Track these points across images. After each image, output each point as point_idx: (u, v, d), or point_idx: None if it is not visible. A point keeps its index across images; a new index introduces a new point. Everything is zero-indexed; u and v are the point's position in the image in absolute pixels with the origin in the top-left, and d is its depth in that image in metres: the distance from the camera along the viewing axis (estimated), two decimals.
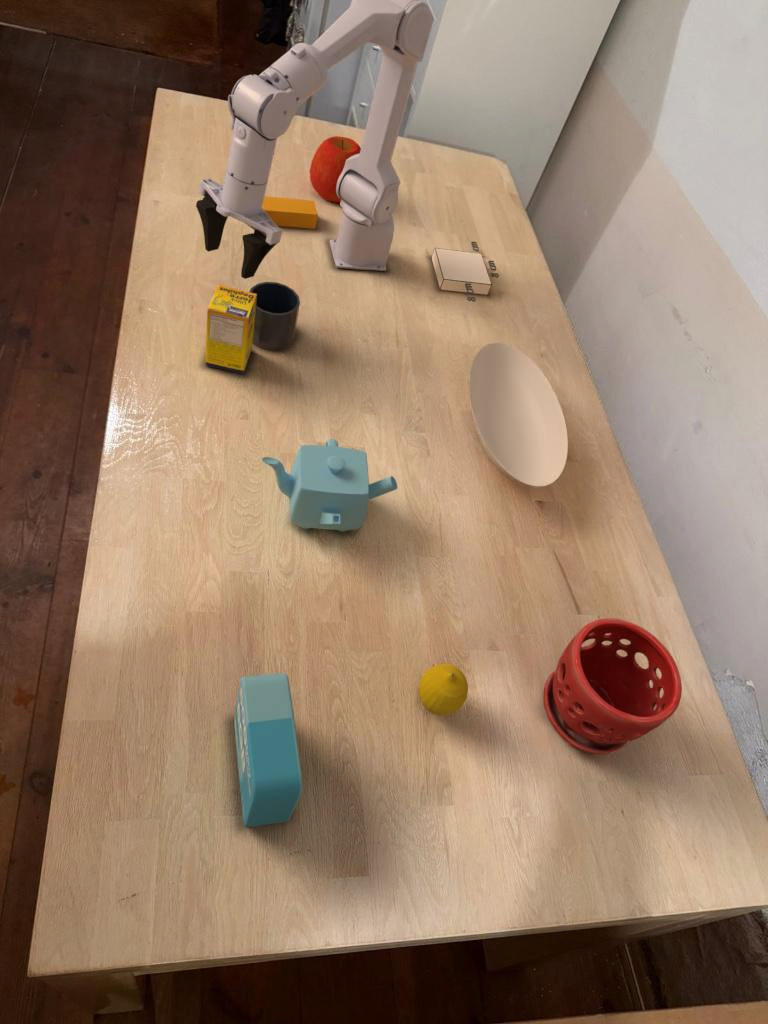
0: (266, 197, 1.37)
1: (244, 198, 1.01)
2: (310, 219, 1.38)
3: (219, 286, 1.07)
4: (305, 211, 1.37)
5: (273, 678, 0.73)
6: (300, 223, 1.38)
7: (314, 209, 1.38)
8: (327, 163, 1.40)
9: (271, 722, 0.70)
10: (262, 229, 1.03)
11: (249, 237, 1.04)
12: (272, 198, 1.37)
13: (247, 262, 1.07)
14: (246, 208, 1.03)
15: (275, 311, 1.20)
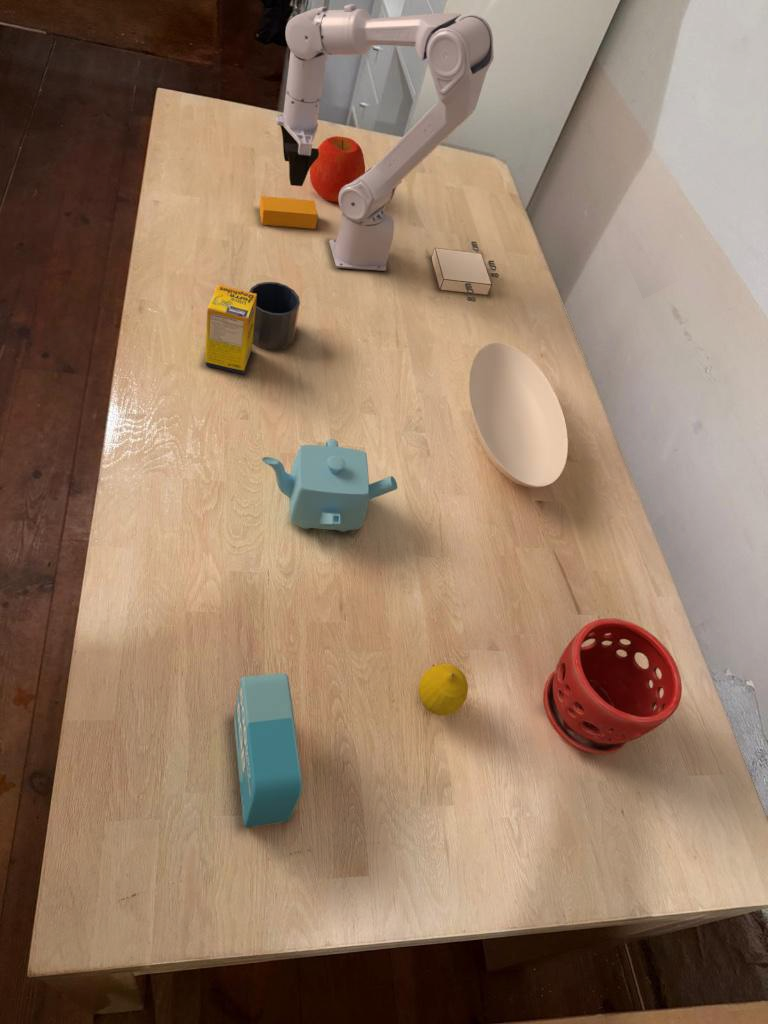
0: (266, 197, 1.37)
1: (291, 111, 1.21)
2: (310, 219, 1.38)
3: (219, 286, 1.07)
4: (305, 211, 1.37)
5: (273, 678, 0.73)
6: (300, 223, 1.38)
7: (314, 209, 1.38)
8: (327, 163, 1.40)
9: (271, 722, 0.70)
10: (297, 140, 1.22)
11: (288, 145, 1.23)
12: (272, 198, 1.37)
13: (289, 169, 1.27)
14: (293, 121, 1.22)
15: (275, 311, 1.20)
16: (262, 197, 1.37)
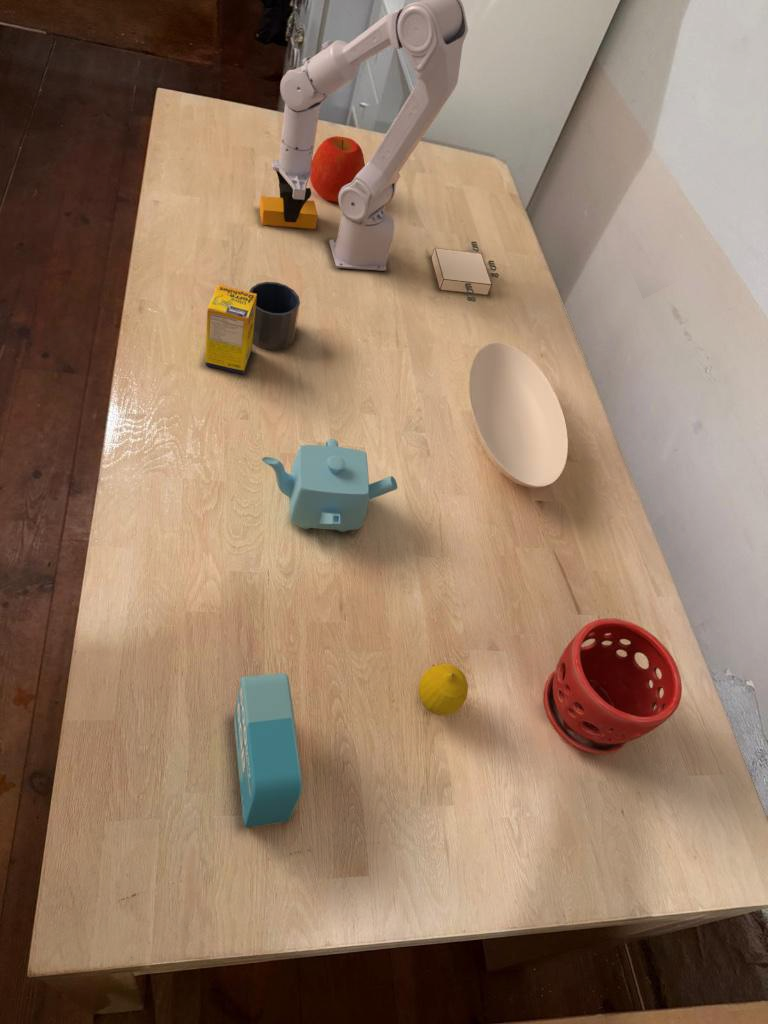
0: (266, 197, 1.37)
1: (286, 158, 1.28)
2: (310, 219, 1.38)
3: (219, 286, 1.07)
4: (305, 211, 1.37)
5: (274, 678, 0.73)
6: (300, 223, 1.38)
7: (314, 209, 1.38)
8: (327, 163, 1.40)
9: (271, 722, 0.70)
10: (291, 185, 1.28)
11: (282, 185, 1.30)
12: (272, 198, 1.37)
13: (283, 207, 1.34)
14: (288, 167, 1.29)
15: (275, 311, 1.20)
16: (262, 197, 1.37)
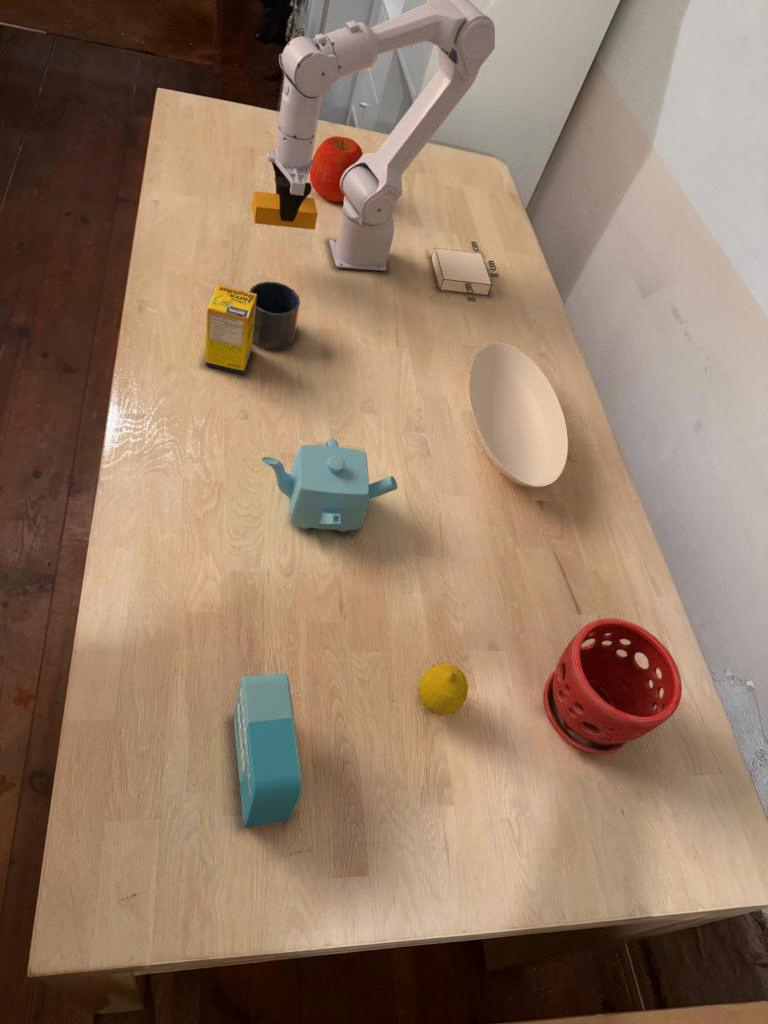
0: (260, 193, 1.21)
1: (283, 148, 1.12)
2: (309, 218, 1.22)
3: (219, 286, 1.07)
4: (303, 209, 1.21)
5: (273, 678, 0.73)
6: (298, 223, 1.22)
7: (314, 207, 1.22)
8: (327, 163, 1.40)
9: (271, 722, 0.70)
10: (288, 178, 1.12)
11: (279, 179, 1.15)
12: (266, 193, 1.21)
13: (280, 204, 1.18)
14: (285, 158, 1.13)
15: (275, 311, 1.20)
16: (255, 192, 1.21)
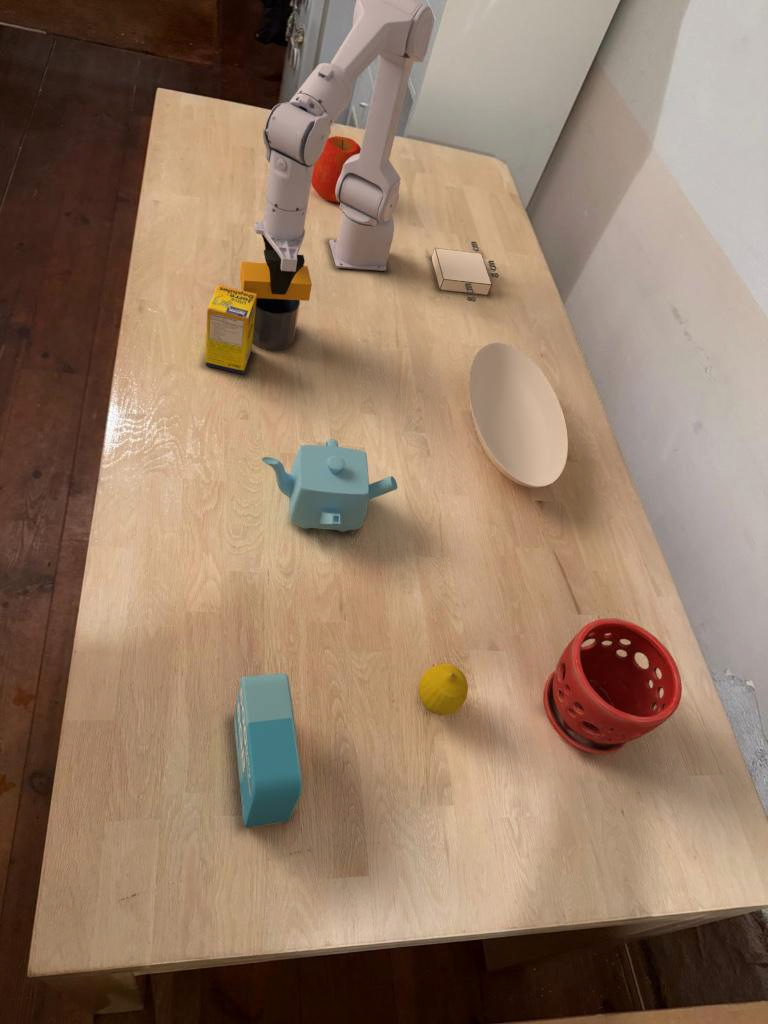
0: (248, 263, 1.10)
1: (272, 220, 1.01)
2: (303, 290, 1.11)
3: (219, 286, 1.07)
4: (296, 280, 1.10)
5: (274, 678, 0.73)
6: (290, 295, 1.11)
7: (307, 277, 1.11)
8: (327, 163, 1.40)
9: (271, 722, 0.70)
10: (279, 253, 1.02)
11: (268, 253, 1.04)
12: (255, 264, 1.11)
13: (270, 277, 1.07)
14: (275, 230, 1.02)
15: (275, 311, 1.20)
16: (243, 263, 1.10)
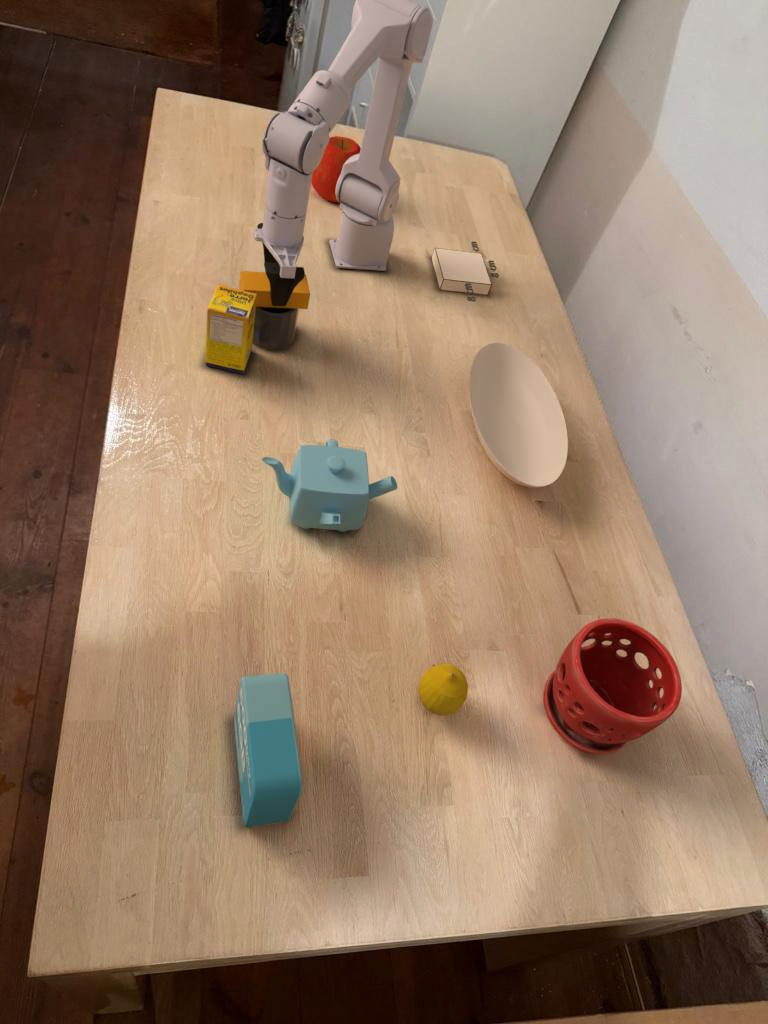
0: (247, 272, 1.12)
1: (271, 227, 1.02)
2: (301, 299, 1.13)
3: (219, 286, 1.07)
4: (294, 289, 1.12)
5: (274, 678, 0.73)
6: (289, 303, 1.13)
7: (306, 286, 1.13)
8: (327, 163, 1.40)
9: (271, 722, 0.70)
10: (278, 261, 1.02)
11: (268, 265, 1.04)
12: (254, 273, 1.12)
13: (270, 289, 1.07)
14: (274, 237, 1.03)
15: (275, 311, 1.20)
16: (242, 272, 1.11)
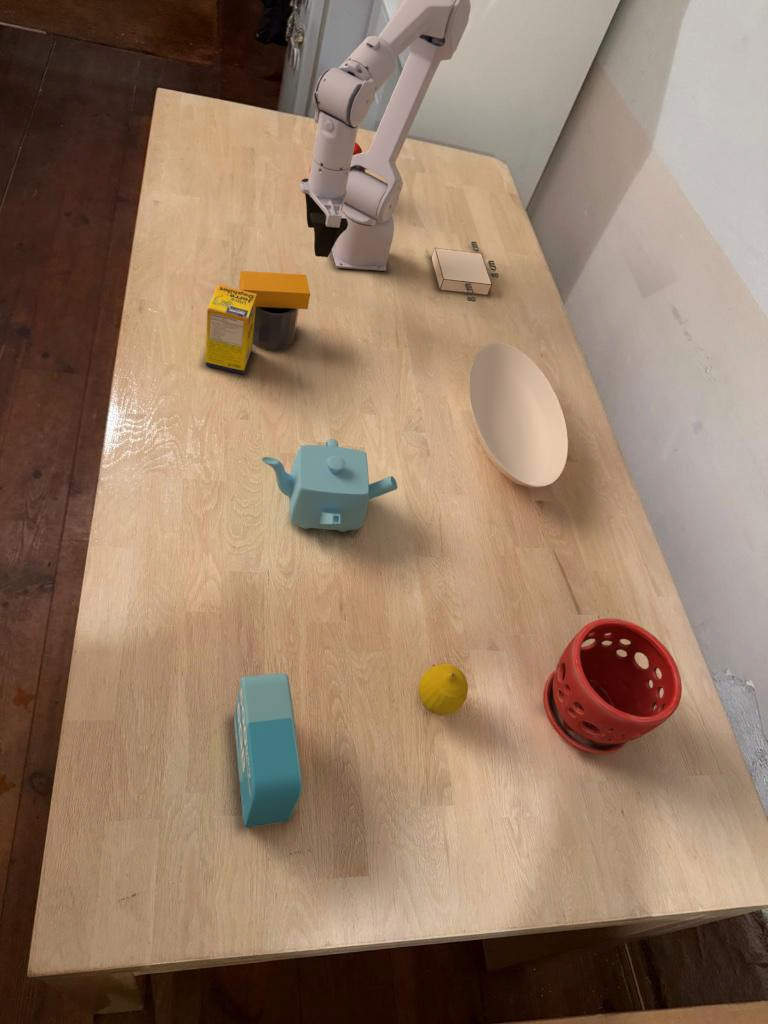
0: (247, 272, 1.12)
1: (318, 179, 1.09)
2: (301, 299, 1.13)
3: (219, 286, 1.07)
4: (294, 289, 1.12)
5: (274, 678, 0.73)
6: (289, 303, 1.13)
7: (306, 286, 1.13)
8: None
9: (271, 722, 0.70)
10: (324, 210, 1.10)
11: (315, 216, 1.11)
12: (254, 273, 1.12)
13: (315, 240, 1.14)
14: (320, 189, 1.10)
15: (275, 311, 1.20)
16: (242, 272, 1.11)
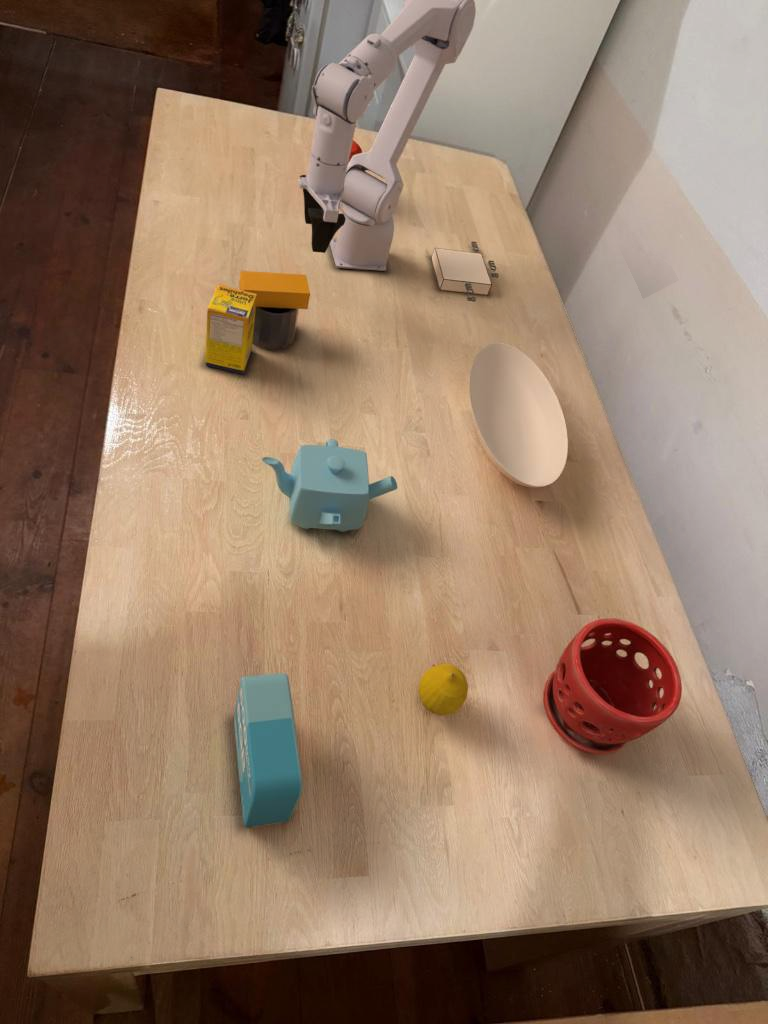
0: (247, 272, 1.12)
1: (316, 174, 1.10)
2: (301, 299, 1.13)
3: (219, 286, 1.07)
4: (294, 289, 1.12)
5: (274, 678, 0.73)
6: (289, 303, 1.13)
7: (306, 286, 1.13)
8: None
9: (271, 722, 0.70)
10: (322, 205, 1.10)
11: (312, 211, 1.12)
12: (254, 273, 1.12)
13: (312, 235, 1.15)
14: (318, 184, 1.11)
15: (275, 311, 1.20)
16: (242, 272, 1.11)
